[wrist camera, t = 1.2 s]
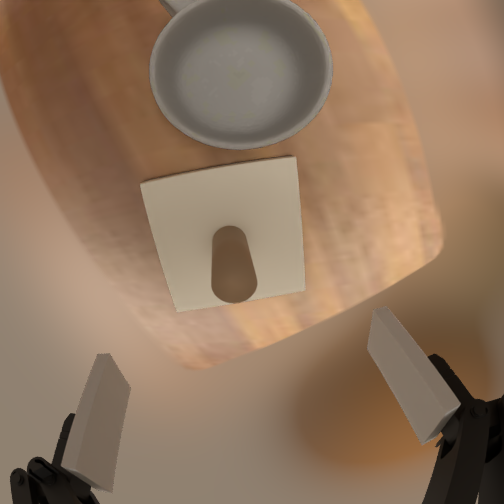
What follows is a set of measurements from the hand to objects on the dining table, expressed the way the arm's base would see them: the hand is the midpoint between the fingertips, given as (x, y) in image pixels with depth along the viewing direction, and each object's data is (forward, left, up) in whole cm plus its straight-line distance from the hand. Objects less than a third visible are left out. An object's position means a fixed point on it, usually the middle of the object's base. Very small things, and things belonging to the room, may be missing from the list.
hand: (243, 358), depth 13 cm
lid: (0, 0, -14) cm, 14 cm away
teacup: (-15, +2, -15) cm, 21 cm away
